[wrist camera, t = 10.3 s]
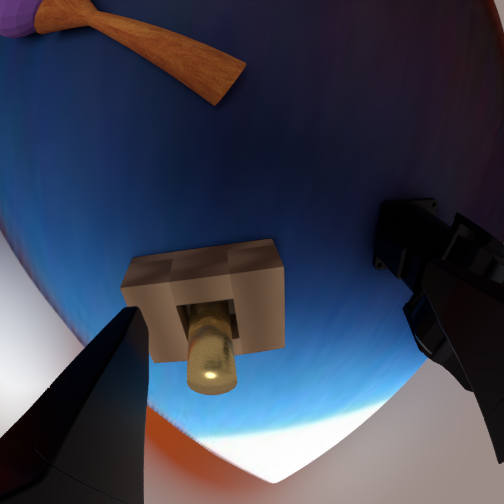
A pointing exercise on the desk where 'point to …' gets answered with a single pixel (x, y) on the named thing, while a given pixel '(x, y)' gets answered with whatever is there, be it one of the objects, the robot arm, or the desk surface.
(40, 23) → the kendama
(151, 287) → the bore block
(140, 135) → the desk surface
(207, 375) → the brass pin
